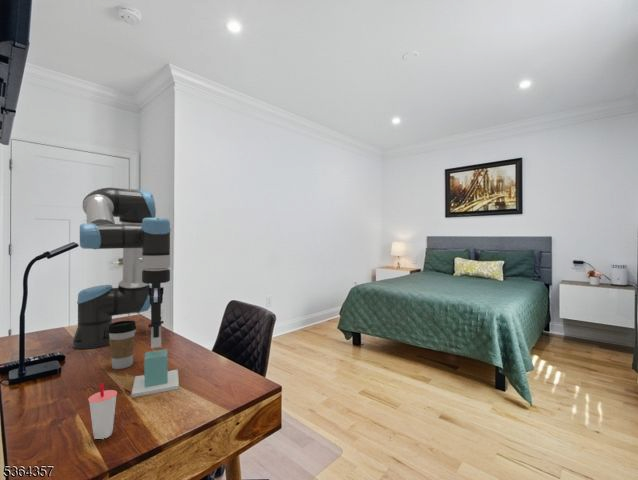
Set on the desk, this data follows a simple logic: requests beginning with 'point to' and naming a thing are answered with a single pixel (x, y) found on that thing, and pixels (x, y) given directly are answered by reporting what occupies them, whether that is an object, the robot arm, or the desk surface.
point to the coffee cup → (122, 343)
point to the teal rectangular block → (155, 368)
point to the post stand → (141, 390)
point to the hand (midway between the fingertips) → (156, 346)
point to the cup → (102, 412)
